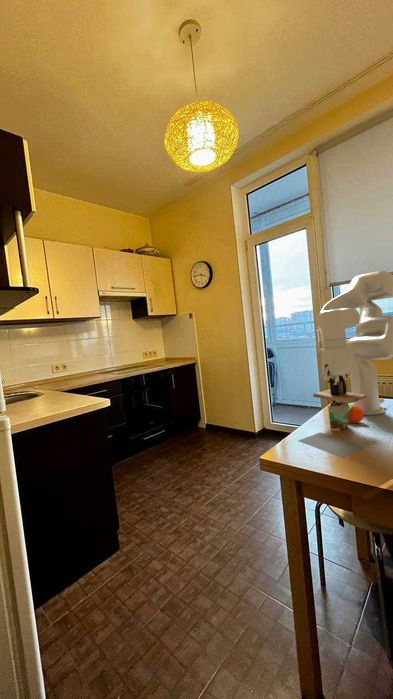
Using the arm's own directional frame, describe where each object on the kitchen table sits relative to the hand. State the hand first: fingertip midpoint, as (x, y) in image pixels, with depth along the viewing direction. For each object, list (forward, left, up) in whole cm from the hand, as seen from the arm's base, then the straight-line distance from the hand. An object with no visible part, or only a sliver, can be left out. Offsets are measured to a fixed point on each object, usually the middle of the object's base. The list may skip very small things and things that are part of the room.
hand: (338, 393), depth 105 cm
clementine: (-8, -1, -13) cm, 16 cm away
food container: (0, 0, -13) cm, 13 cm away
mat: (+15, +7, -13) cm, 21 cm away
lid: (0, 0, -1) cm, 1 cm away
